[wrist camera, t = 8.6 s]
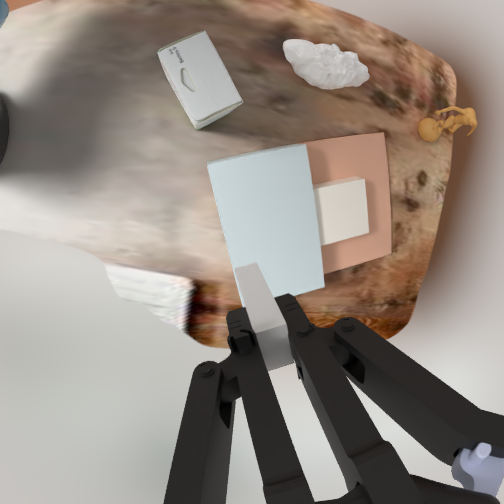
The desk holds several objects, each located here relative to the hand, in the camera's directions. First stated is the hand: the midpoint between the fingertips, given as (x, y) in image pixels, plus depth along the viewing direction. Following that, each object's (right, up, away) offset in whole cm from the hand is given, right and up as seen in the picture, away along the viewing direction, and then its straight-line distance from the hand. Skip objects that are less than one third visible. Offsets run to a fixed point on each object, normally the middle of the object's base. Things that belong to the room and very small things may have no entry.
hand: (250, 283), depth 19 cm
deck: (+2, +6, +21) cm, 22 cm away
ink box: (-7, +22, +14) cm, 27 cm away
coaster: (+12, +8, +21) cm, 26 cm away
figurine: (+28, +23, +19) cm, 41 cm away
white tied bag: (+9, +27, +14) cm, 32 cm away
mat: (+15, +9, +22) cm, 28 cm away
